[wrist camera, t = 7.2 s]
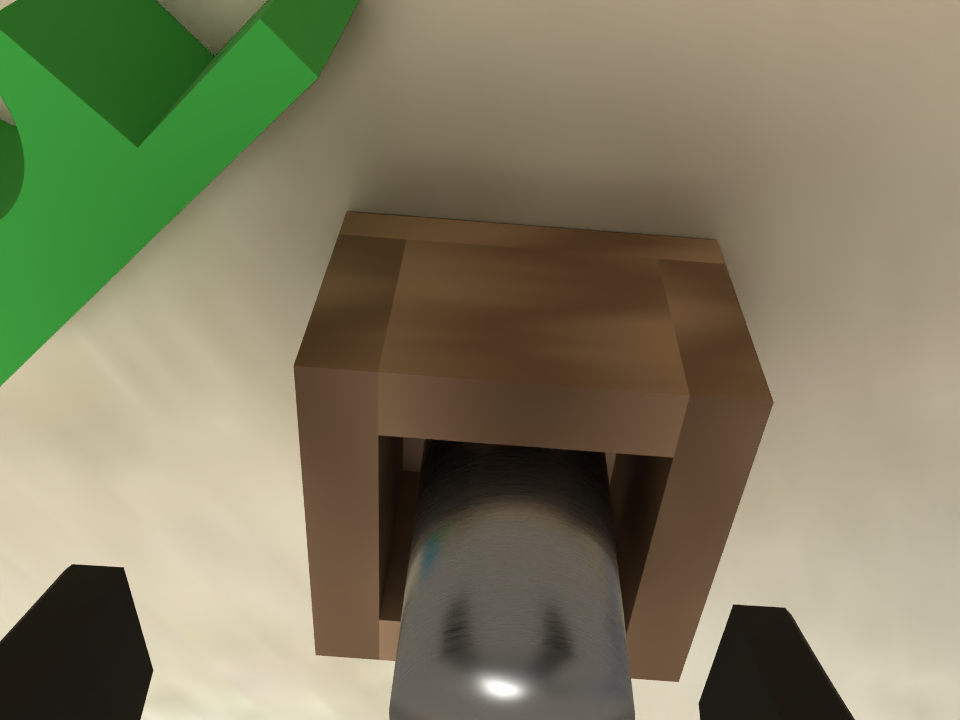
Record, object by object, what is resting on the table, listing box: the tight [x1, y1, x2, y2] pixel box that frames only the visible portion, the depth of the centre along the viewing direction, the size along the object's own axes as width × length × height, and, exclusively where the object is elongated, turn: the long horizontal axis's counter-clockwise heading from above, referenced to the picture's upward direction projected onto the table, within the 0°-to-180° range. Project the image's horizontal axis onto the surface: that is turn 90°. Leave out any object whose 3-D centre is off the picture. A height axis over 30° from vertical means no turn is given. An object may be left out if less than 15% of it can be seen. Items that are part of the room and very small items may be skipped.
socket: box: [294, 212, 773, 682], centre depth 19 cm, size 8×8×6 cm
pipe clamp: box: [0, 0, 359, 386], centre depth 16 cm, size 11×4×5 cm, turn 132°
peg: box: [389, 439, 635, 720], centre depth 18 cm, size 4×4×8 cm
